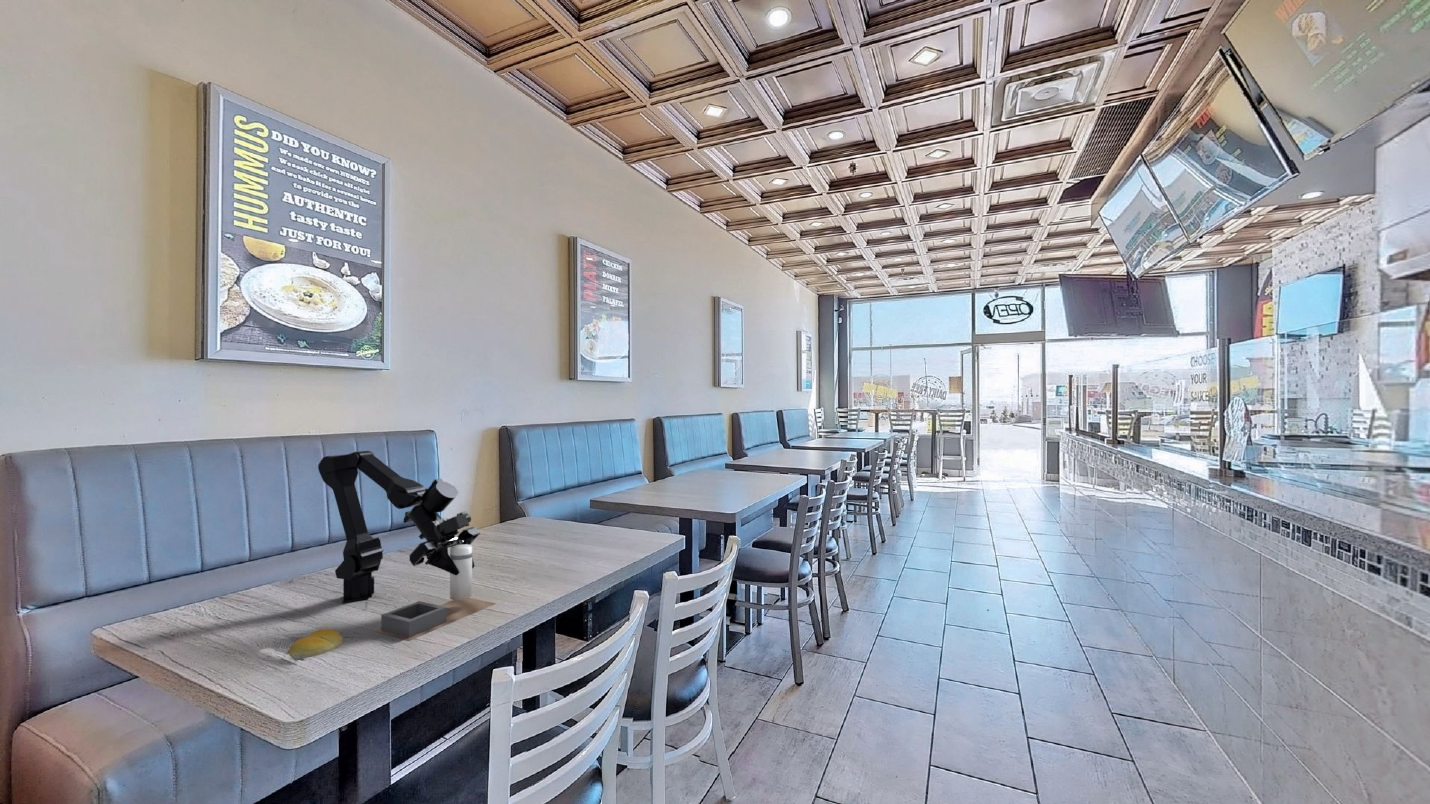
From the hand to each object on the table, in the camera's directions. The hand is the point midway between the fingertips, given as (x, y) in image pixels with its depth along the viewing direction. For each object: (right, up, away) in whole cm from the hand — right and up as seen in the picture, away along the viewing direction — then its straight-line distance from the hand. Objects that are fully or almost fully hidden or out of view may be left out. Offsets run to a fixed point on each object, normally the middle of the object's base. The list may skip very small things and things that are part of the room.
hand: (465, 570), depth 134 cm
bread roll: (-21, -10, -22) cm, 32 cm away
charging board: (-4, -10, -5) cm, 12 cm away
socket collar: (-7, -9, -11) cm, 16 cm away
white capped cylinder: (-1, -7, 0) cm, 7 cm away
